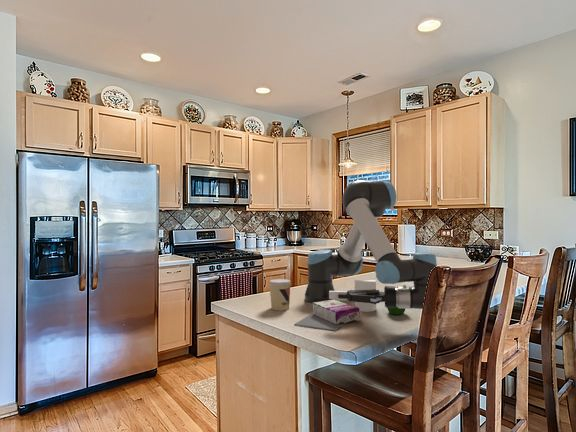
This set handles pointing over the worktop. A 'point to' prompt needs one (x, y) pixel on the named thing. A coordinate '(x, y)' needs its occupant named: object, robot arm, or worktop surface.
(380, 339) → the worktop surface
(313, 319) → the rubber mat
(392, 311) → the bell pepper
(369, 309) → the base with upright slab
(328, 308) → the candy bar box
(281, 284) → the coffee cup
